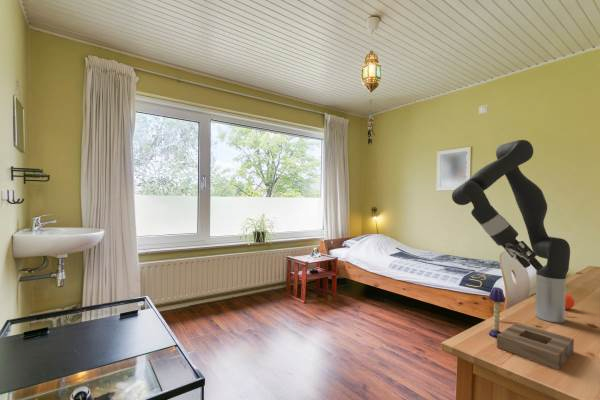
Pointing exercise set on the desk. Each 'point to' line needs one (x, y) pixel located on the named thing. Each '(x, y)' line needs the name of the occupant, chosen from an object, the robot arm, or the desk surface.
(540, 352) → the socket block
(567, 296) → the clementine
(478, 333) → the desk surface
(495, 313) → the toy lamp
